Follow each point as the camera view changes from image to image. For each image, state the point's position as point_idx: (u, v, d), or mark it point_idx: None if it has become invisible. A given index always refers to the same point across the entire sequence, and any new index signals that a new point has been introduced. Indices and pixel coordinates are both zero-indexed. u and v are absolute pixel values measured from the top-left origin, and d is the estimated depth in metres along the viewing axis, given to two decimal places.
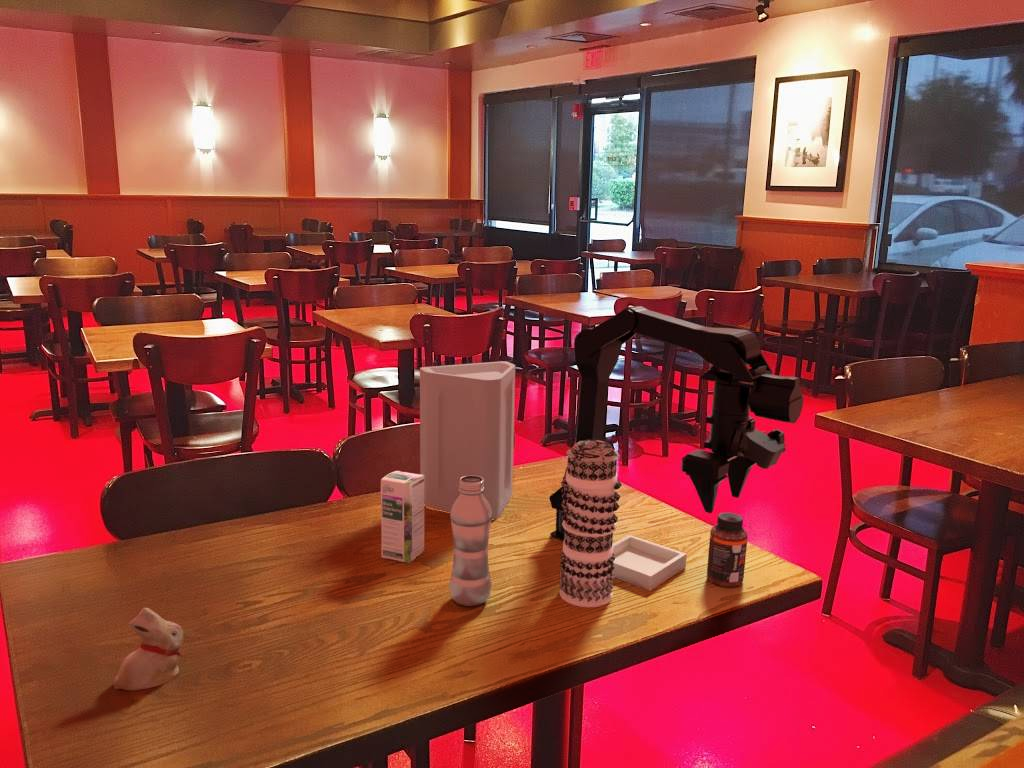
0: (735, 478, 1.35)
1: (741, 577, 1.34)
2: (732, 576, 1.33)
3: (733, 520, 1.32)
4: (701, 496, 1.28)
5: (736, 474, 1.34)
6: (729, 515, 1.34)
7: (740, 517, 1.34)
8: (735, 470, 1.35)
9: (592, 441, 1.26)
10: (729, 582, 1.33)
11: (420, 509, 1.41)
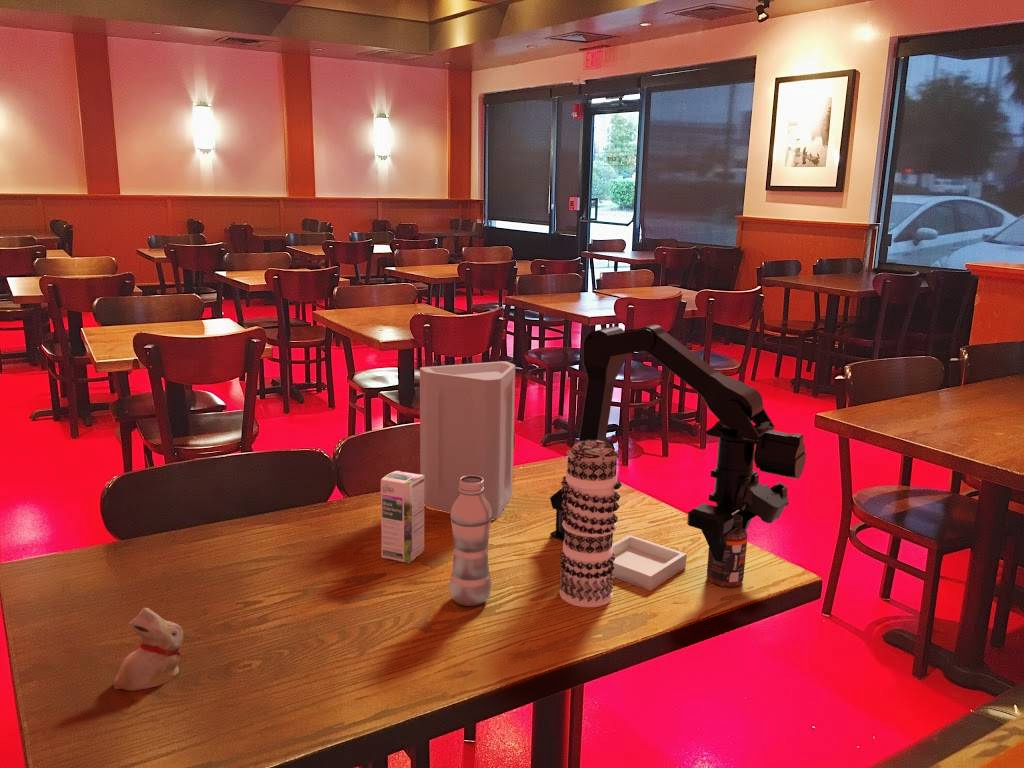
0: None
1: (741, 577, 1.34)
2: (732, 576, 1.33)
3: None
4: (711, 545, 1.32)
5: None
6: None
7: (740, 517, 1.34)
8: None
9: (592, 441, 1.26)
10: (729, 582, 1.33)
11: (420, 509, 1.41)
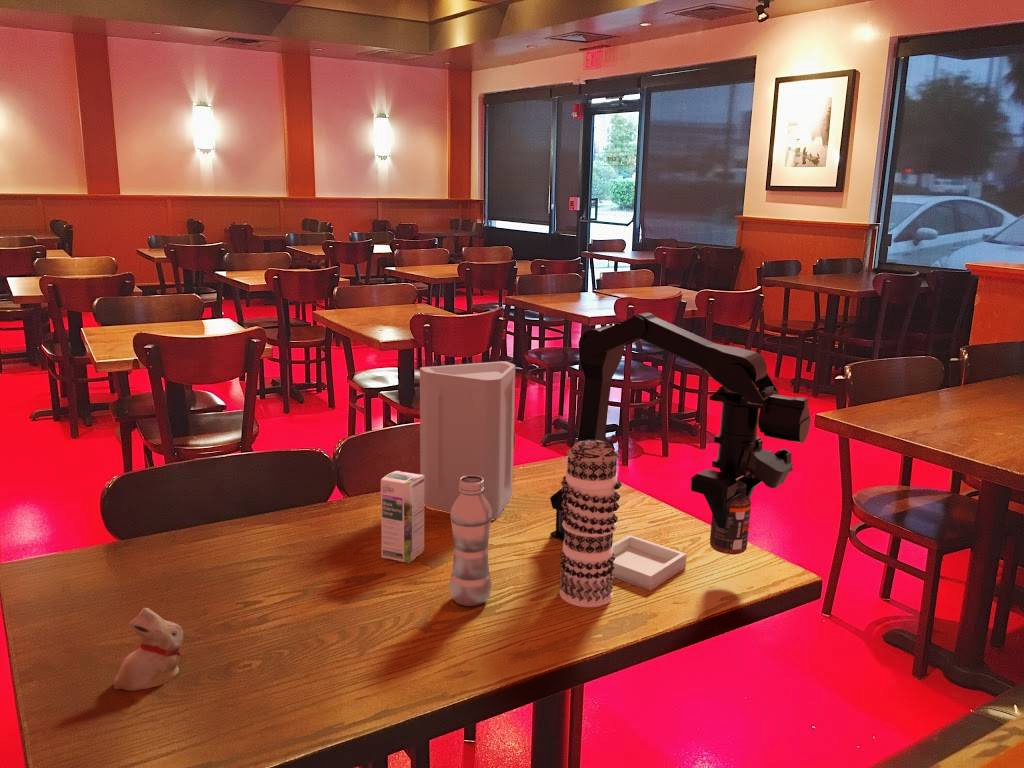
0: None
1: (744, 544, 1.33)
2: (736, 544, 1.32)
3: None
4: (714, 512, 1.31)
5: None
6: None
7: (743, 484, 1.32)
8: None
9: (592, 441, 1.26)
10: (732, 549, 1.32)
11: (420, 509, 1.41)
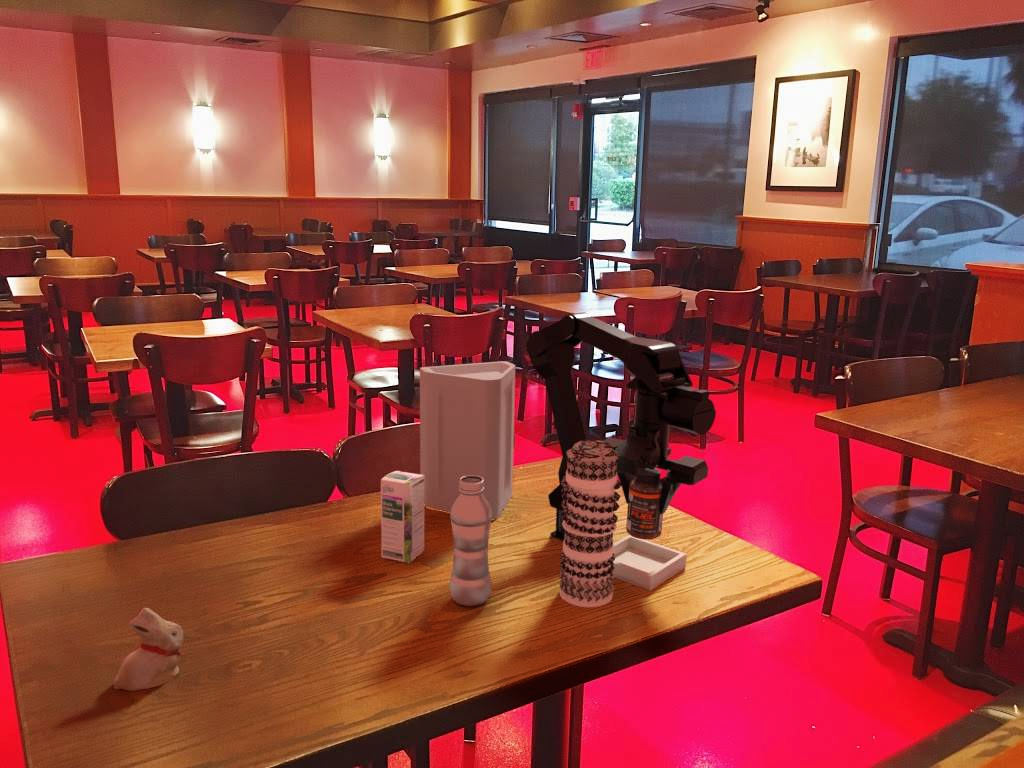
0: None
1: (634, 529, 1.36)
2: (627, 522, 1.38)
3: None
4: None
5: None
6: (650, 470, 1.36)
7: (648, 473, 1.34)
8: None
9: (592, 441, 1.26)
10: (626, 527, 1.38)
11: (420, 509, 1.41)
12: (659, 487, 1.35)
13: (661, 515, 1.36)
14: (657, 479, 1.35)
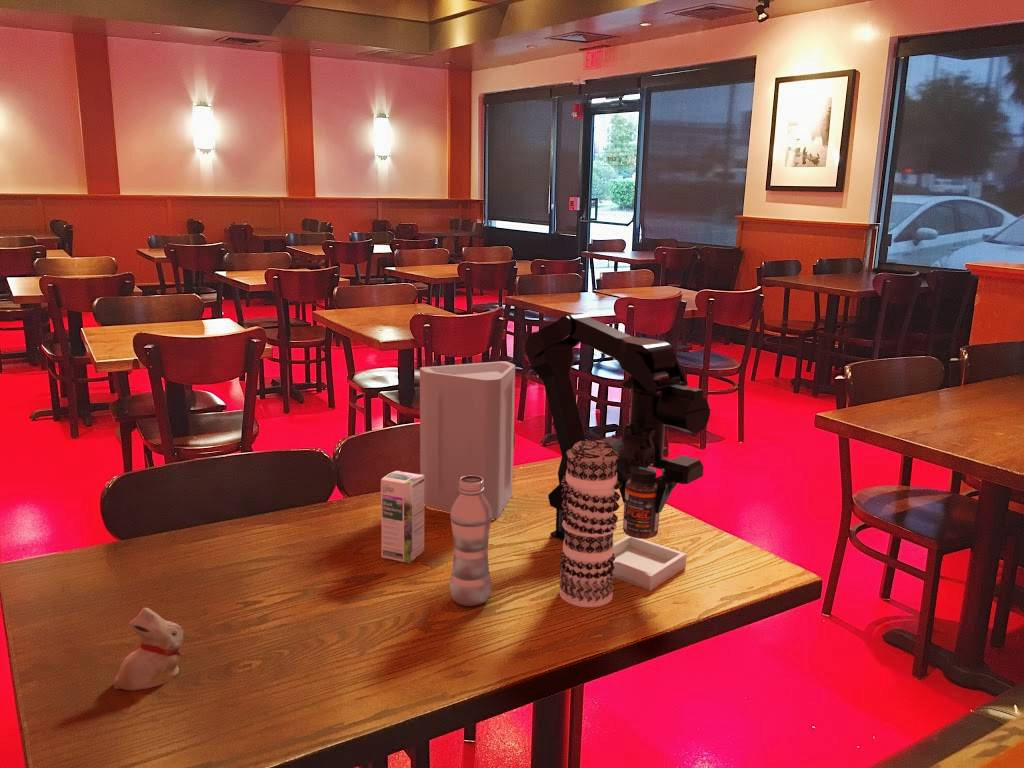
0: None
1: (630, 529, 1.36)
2: (623, 522, 1.38)
3: None
4: None
5: None
6: (646, 469, 1.36)
7: (644, 472, 1.34)
8: None
9: (592, 441, 1.26)
10: (623, 526, 1.38)
11: (420, 509, 1.41)
12: (655, 486, 1.35)
13: (657, 514, 1.36)
14: (652, 478, 1.35)
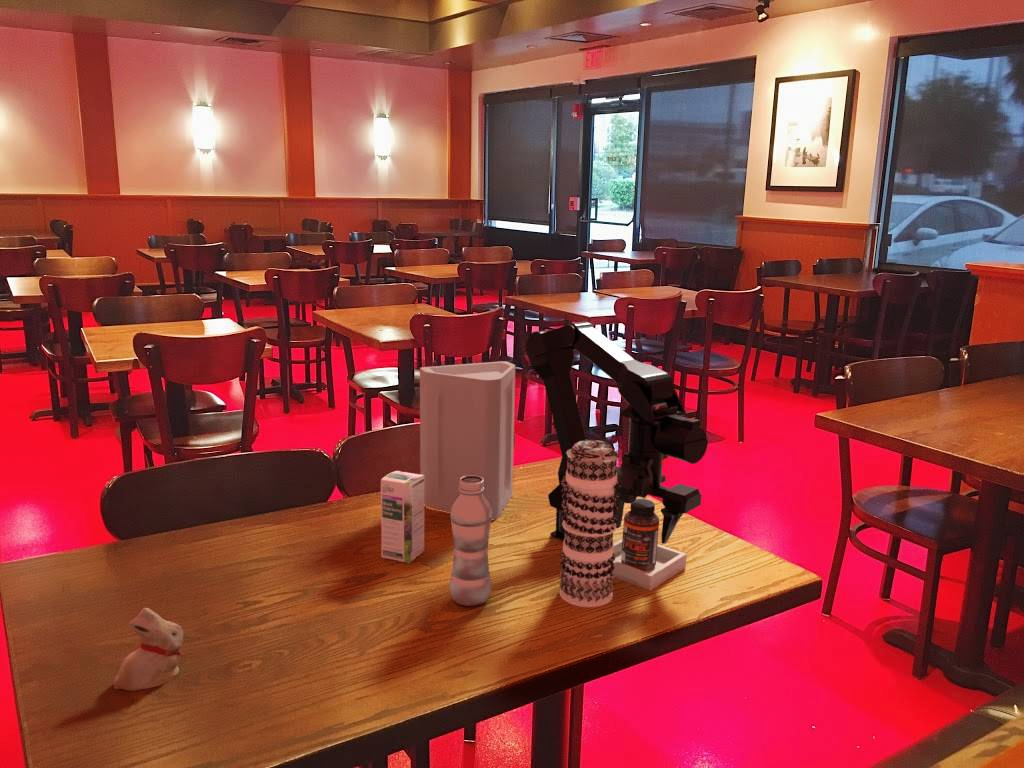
0: None
1: (628, 561, 1.37)
2: (622, 554, 1.39)
3: (633, 502, 1.37)
4: None
5: None
6: (644, 502, 1.37)
7: (642, 506, 1.36)
8: None
9: (592, 441, 1.26)
10: (621, 558, 1.40)
11: (420, 509, 1.41)
12: (653, 519, 1.36)
13: (655, 547, 1.37)
14: (651, 511, 1.36)
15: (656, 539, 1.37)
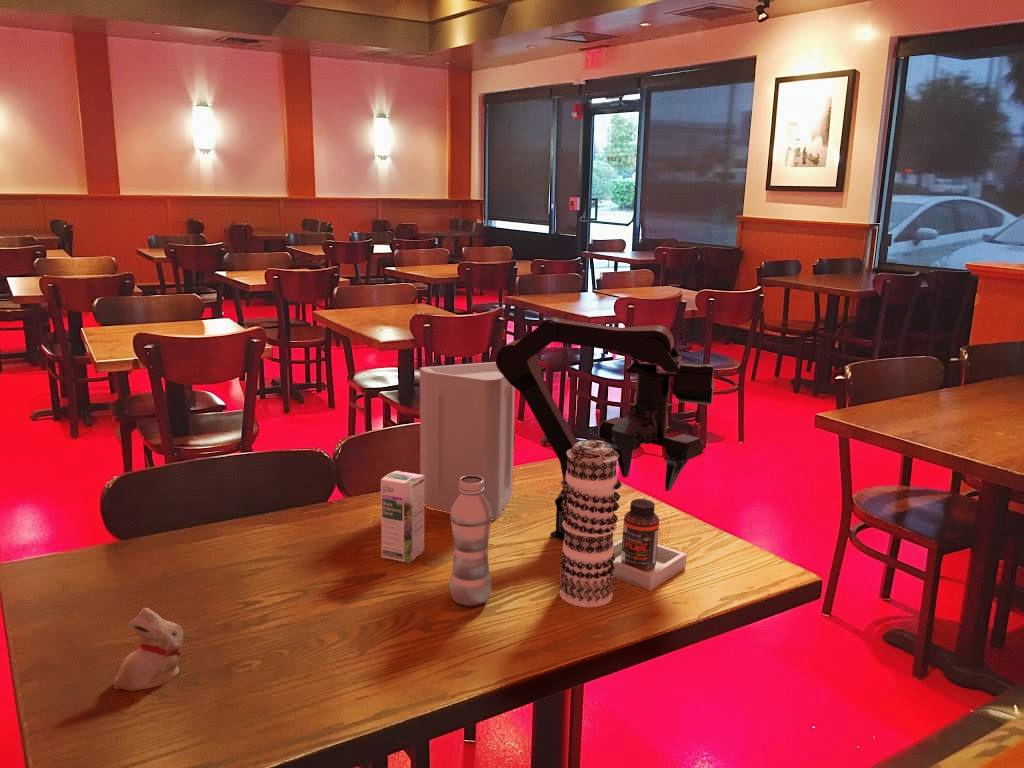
0: None
1: (628, 561, 1.37)
2: (622, 554, 1.39)
3: (633, 502, 1.37)
4: None
5: None
6: (644, 502, 1.37)
7: (642, 506, 1.36)
8: None
9: (592, 441, 1.26)
10: (621, 558, 1.40)
11: (420, 509, 1.41)
12: (653, 519, 1.36)
13: (655, 547, 1.37)
14: (651, 511, 1.36)
15: (656, 539, 1.37)
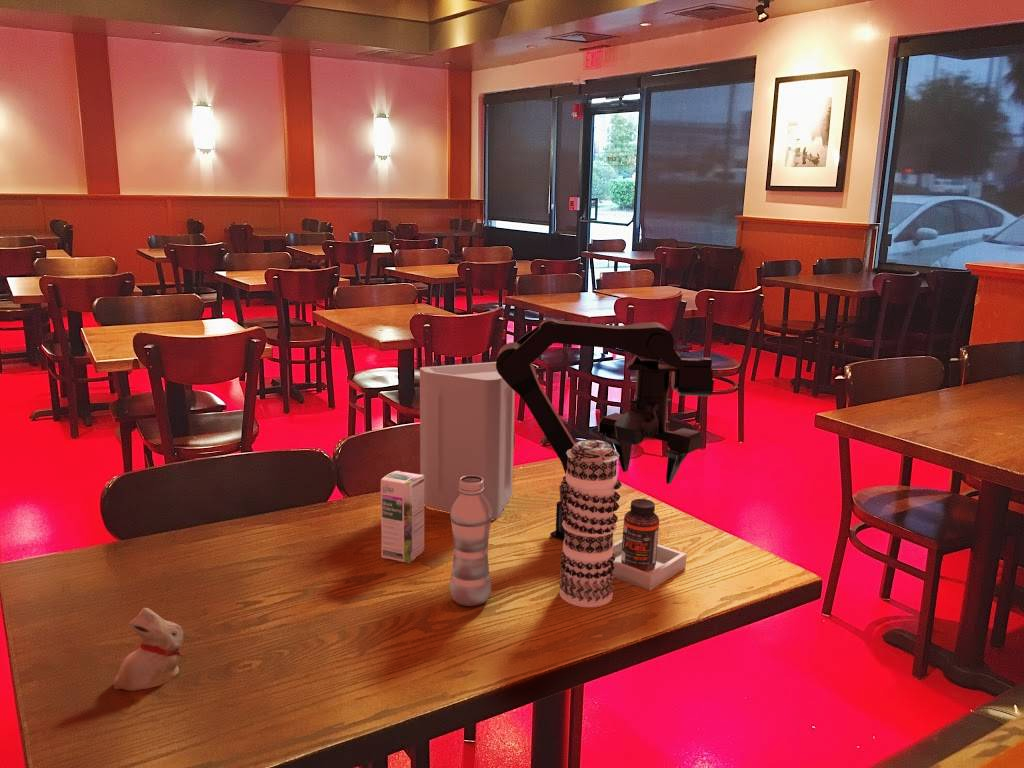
0: None
1: (628, 561, 1.37)
2: (622, 554, 1.39)
3: (633, 502, 1.37)
4: None
5: None
6: (644, 502, 1.37)
7: (642, 506, 1.36)
8: None
9: (592, 441, 1.26)
10: (621, 558, 1.40)
11: (420, 509, 1.41)
12: (653, 519, 1.36)
13: (655, 547, 1.37)
14: (651, 511, 1.36)
15: (656, 539, 1.37)
